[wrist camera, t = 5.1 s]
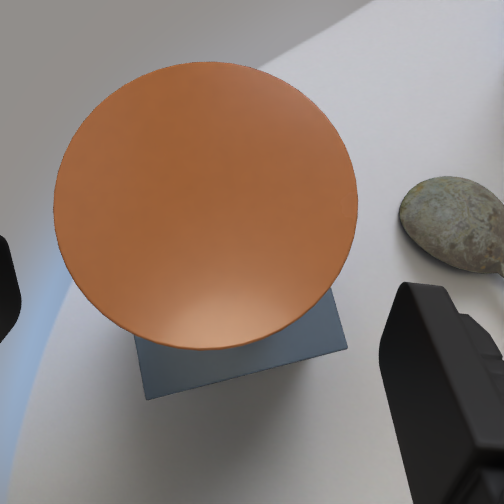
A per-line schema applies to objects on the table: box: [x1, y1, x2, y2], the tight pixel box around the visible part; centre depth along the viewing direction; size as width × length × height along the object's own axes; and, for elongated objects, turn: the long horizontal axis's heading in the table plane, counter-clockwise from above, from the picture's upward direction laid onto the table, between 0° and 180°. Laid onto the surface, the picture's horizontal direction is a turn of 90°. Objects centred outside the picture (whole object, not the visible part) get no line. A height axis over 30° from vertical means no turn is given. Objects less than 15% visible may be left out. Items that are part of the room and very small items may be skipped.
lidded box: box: [134, 287, 348, 400], centre depth 25 cm, size 9×8×9 cm
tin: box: [53, 62, 358, 351], centre depth 14 cm, size 6×6×12 cm
